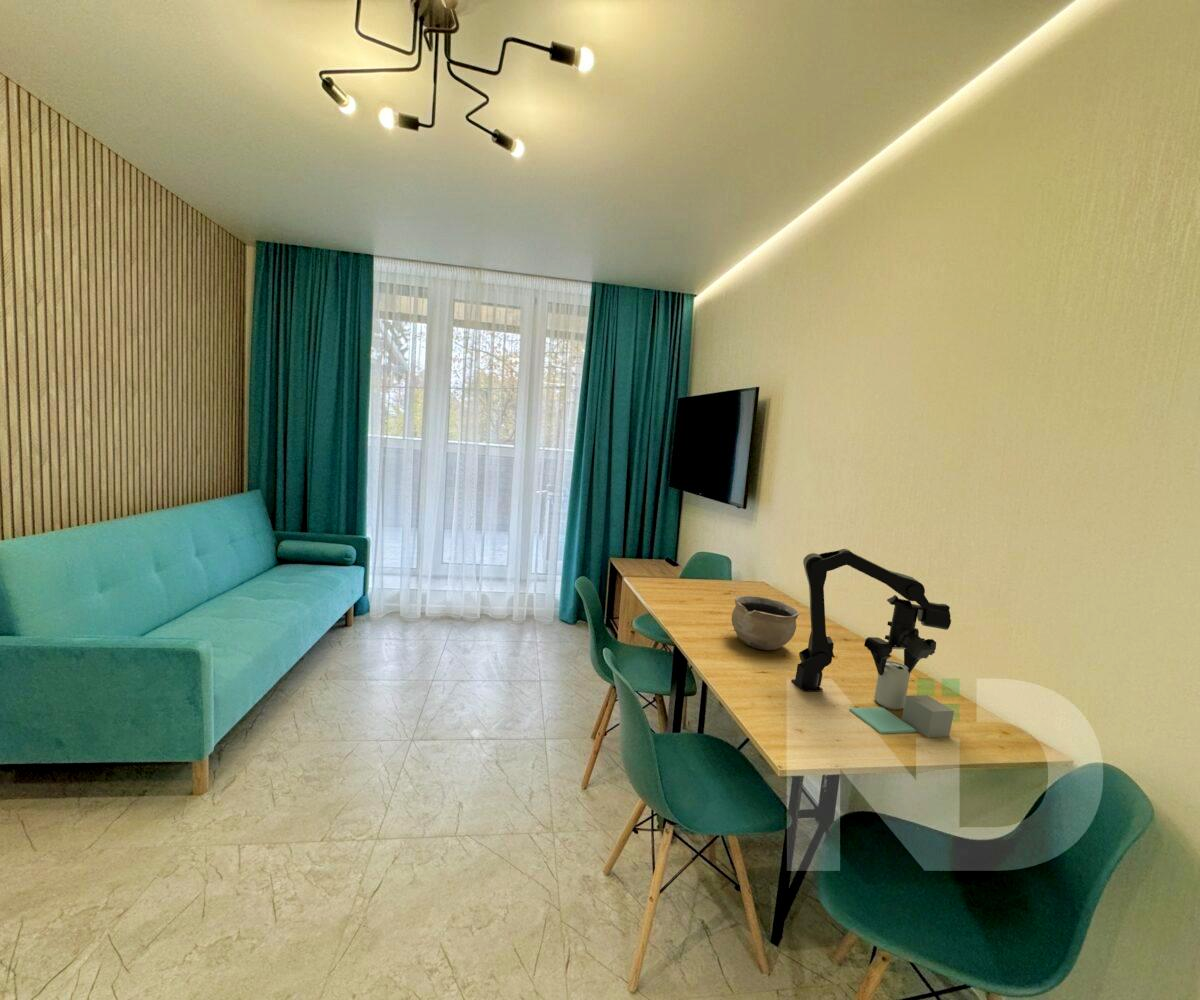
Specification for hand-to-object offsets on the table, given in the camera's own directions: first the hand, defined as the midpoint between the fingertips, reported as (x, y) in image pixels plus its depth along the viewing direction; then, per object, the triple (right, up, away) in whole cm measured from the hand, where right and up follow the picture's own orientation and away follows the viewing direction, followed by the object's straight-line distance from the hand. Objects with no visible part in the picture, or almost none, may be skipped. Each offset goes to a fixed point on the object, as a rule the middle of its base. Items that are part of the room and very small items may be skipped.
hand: (893, 674), depth 143 cm
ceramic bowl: (-26, -2, +36) cm, 45 cm away
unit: (+2, -10, -11) cm, 15 cm away
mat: (-9, -9, -9) cm, 16 cm away
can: (-1, -9, +1) cm, 9 cm away
